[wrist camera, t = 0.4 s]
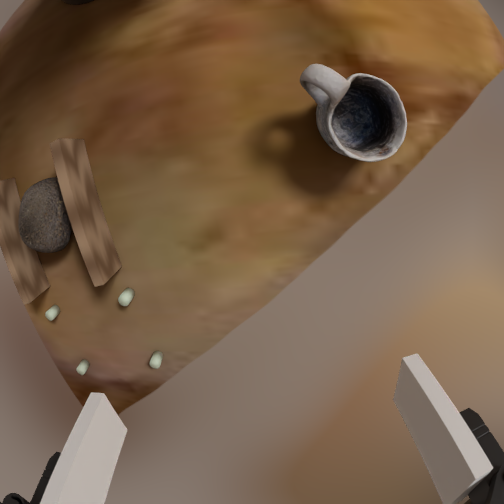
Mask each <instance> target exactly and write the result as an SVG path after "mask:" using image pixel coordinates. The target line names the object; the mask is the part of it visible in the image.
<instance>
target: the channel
mask: <svg viewBox="0 0 504 504" xmlns="http://www.w3.org/2000/svg"><path fill="white" fill-rule="evenodd" d="M50 148H51V152H52V157H53V161H54V166H55V170H56V174H57V178H58V182H59V185H60V189H61V193H62V196H63V200H64V203H65V206H66V210H67V213H68V216H69V219H70V222H71V226H72V229H73V231H74V234H75V237H76V240H77V243H78V246H79V248H80V251H81V254H82V257H83V259H84V262H85V264H86V267H87V269H88V272H89V274H90V277H91V279H92V282H93V284H94V286H95V287H96V286H100V285H104V284H105V283H106V282H107V281H108V280H109V279H110V278H111V277H112V276H113V275H114V274H115V273H116V272H117V271H118V270H119V269H120V268H121V267H122V265H121V262H120V259H119V257H118V254H117V251H116V248H115V246H114V243H113V240H112V237H111V234H110V231H109V228H108V225H107V222H106V219H105V216H104V213H103V210H102V206H101V203H100V200H99V197H98V193H97V190H96V186H95V183H94V179H93V175H92V171H91V168H90V164H89V160H88V156H87V152H86V147H85V143H84V139H57V140H55V141H54V142H52V143H50ZM20 204H21V202H20V198H19V194H18V190H17V186H16V182H15V178H11V179H7V180H2V181H0V246H1V249H2V252H3V255H4V258H5V260H6V263H7V266H8V268H9V271H10V273H11V276H12V278H13V280H14V283H15V285H16V288H17V290H18V292H19V295H20V297H21V299H22V301H23V303H24V304H28V303H30V302H32V301H33V300H34V299H35V298H36V297H38V296H39V295H40V294H41V293H42V292H44V291H45V290H46V289H47V288H48V287H50V284H49V282H48V280H47V277H46V275H45V272H44V270H43V267H42V265H41V262H40V260H39V257H38V254H37V252H36V250H34V249H31V248H29V247H28V246H27V245H26V244H24V242H23V240H22V238H21V236H20V234H19V223H18V220H19V210H20Z"/></svg>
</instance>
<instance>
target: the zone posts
mask: <svg viewBox="0 0 504 504" xmlns="http://www.w3.org/2000/svg"><path fill="white" fill-rule="evenodd" d="M134 296H135V292H134V291H133V289H131V288H126V289H125V290H124V292H123V293H122V294H121V295H120V297H119V298H118V301H119V303H120V304H121V305H122V306H127V305H128V304H129V303H130V302H131V300H132V299H133V297H134ZM59 313H60V308H59V307H58V306H57V305H53V306H52V307H51V308H50V309H49V310H48V311H47V312H46V314H45V315H46V317H47V319H48V320H50V321H52V320H53V319H54V318H55V317H56V316H57V315H58V314H59ZM162 358H163V354H162V353H161V352H160V351H155V352H154V353H153V355H152V358H151V360H150V363H149V364H150V366H151V367H152V368H155V369H157V368H159V367H160V364H161V361H162ZM89 365H90V364H89V362H88V361H87V360H84V359H83V360H82V361H81V363H80V364H79V366H78V367H77V369H76V370H77V372H78V373H79V374H81V375H84V374H85V372H86V370H87V369H88V367H89Z"/></svg>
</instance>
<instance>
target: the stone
mask: <svg viewBox="0 0 504 504" xmlns="http://www.w3.org/2000/svg"><path fill="white" fill-rule="evenodd" d="M18 223H19V234H20V236H21V238H22V240H23V242H24V244H26V245H27V246H28V247H29V248H31V249H34V250H36V251H39V252H46V253H52V252H57V251H60V250H62V249H64V248H65V247H66V245H67V244H68V242H69V239H70V234H71V222H70V219H69V216H68V213H67V210H66V206H65V203H64V200H63V196H62V193H61V189H60V185H59V182H58V178H56V177H55V178H48V179H44V180H42V181H39V182H38V183H36V184H34V185H32V186H31V187H30V188H29V189H28V190H27V191H26V192H25V194H24V196H23V198H22V201H21V204H20V210H19V220H18Z"/></svg>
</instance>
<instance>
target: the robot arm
mask: <svg viewBox="0 0 504 504" xmlns="http://www.w3.org/2000/svg"><path fill="white" fill-rule="evenodd" d="M62 1H63V2H65V3H67V4H72V5H76V4H83V3H87V2H91V1H93V0H62ZM393 400H394V402H395V404H396V406H397V408H398V410H399V412H400V414H401V416H402V418H403V420H404V422H405V424H406V426H407V428H408V430H409V431H410V434H411V436H412V438H413V440H414V442H415V444H416V446H417V448H418V450H419V452H420V454H421V456H422V458H423V460H424V463H425V465H426V467H427V469H428V471H429V473H430V475H431V477H432V480H433V482H434V484H435V487H436V489H437V491H438V493H439V496H440V498H441V500H442V502H443V504H456V503H458V502H460V501H462V500H463V499H464V498H465V497H466V496H467V495H468V496H469V498H470V499H469V500H468V501H467V502H466V503H465V504H504V452H503V451H502V449H501V447H500V446H499V444H498V442H497V441H496V439H495V438H494V436H493V435H492V434H491V432H489V429H488V427H487V426H486V425H485V423H484V422H483V420H482V419H481V417H480V416H479V415H478V414H477V413H476V412H474V411H473V410H471V409H470V408H468V409H466V410H464V411H462V412H460V413H459V412H458V410H457V409H456V407H455V406H454V405H453V403H452V402H451V400H450V398H449V397H448V396H447V394H446V393H445V391H444V390H443V389H442V387H441V386H440V384H439V383H438V381H437V380H436V378H435V377H434V376H433V374H432V373H431V372H430V370H429V369H428V367H427V366H426V365H425V363H424V362H423V361H422V359H421V358H420V356H419V355H418V354H414V355H411V356H407V357H404V358H402V362H401V367H400V372H399V377H398V381H397V386H396V390H395V394H394V398H393ZM126 433H127V428H126V427H125V426H124V424H123V423H122V421H121V420H120V418H119V417H118V415H117V413H116V412H115V410H114V409H113V407H112V405H111V404H110V402H109V401H108V399H107V397H106V396H105V394H104V393H92V392H91V394H90V396H89V398H88V399H87V401H86V403H85V405H84V407H83V409H82V411H81V413H80V415H79V417H78V419H77V421H76V423H75V425H74V428H73V429H72V431H71V434H70V436H69V438H68V440H67V442H66V444H65V446H64V449H63V451H62V453H59V452H56V453H55V454H54V455H53V456H52V457H51V458H50V459H49V461H48V463H47V466H46V470H44V473H43V474H42V475H43V477H41V479H40V482H39V484H38V486H37V488H36V491H35V494H34V495H33V498H32V500H31V502H30V503H29V502H27V500H25V499H24V498H23V497H21V496H20V495H19V494H16V493H10V494H9V495H7V496H6V497H5V498H4V500H3V503H1V502H0V504H104V503H105V500H106V496H107V492H108V489H109V486H110V483H111V479H112V476H113V473H114V470H115V466H116V463H117V460H118V457H119V454H120V451H121V447H122V444H123V441H124V439H125V435H126Z"/></svg>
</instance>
